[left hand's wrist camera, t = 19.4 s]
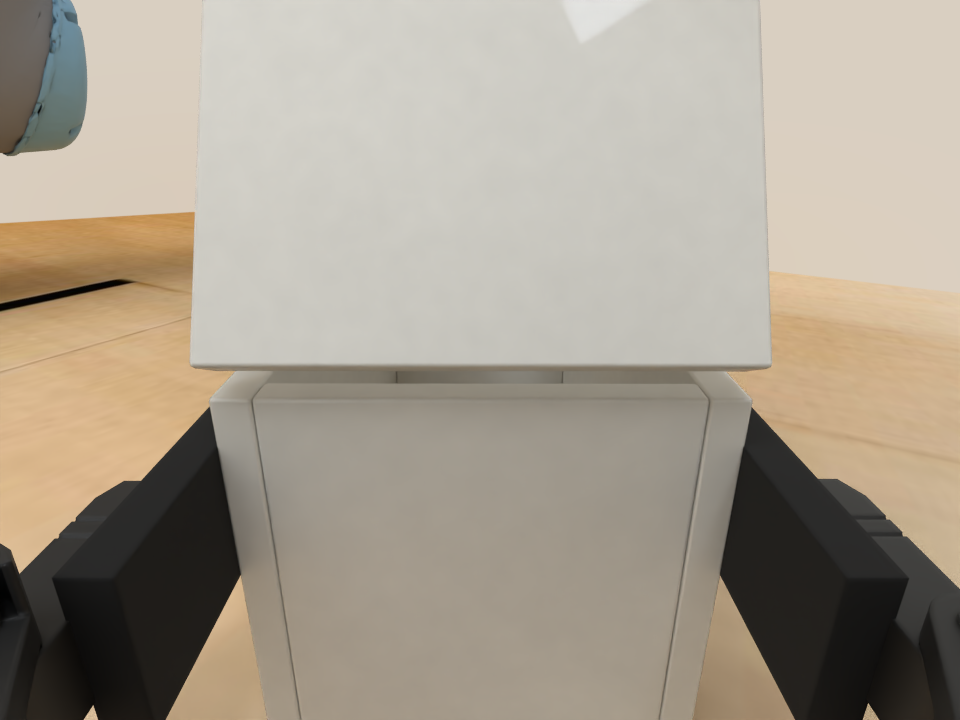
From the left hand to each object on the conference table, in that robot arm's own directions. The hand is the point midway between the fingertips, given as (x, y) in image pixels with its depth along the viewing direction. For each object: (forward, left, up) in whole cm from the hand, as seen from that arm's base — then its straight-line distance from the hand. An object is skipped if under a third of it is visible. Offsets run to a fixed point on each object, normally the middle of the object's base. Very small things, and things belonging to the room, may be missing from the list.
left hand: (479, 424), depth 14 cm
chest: (+5, -2, -7) cm, 9 cm away
